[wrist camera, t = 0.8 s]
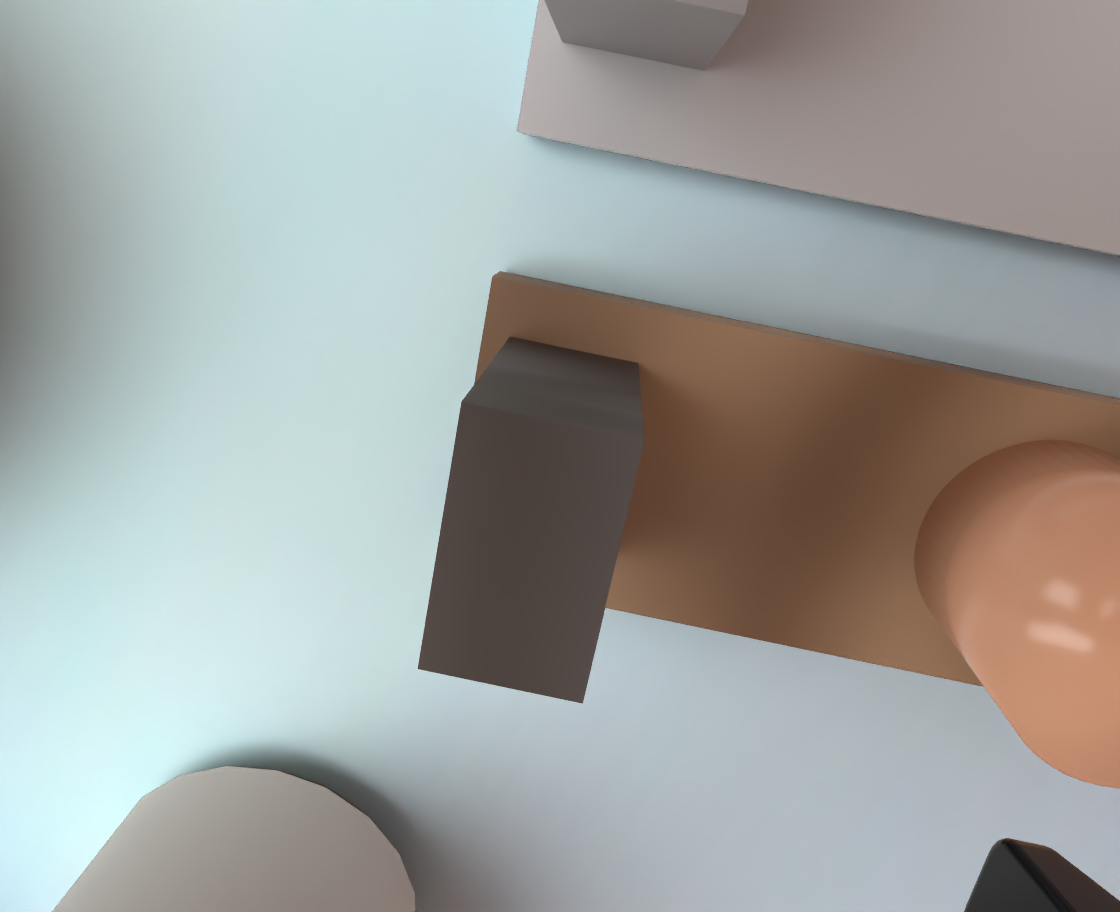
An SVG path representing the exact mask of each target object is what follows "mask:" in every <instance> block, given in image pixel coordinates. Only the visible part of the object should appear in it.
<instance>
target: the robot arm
mask: <svg viewBox="0 0 1120 912" xmlns="http://www.w3.org/2000/svg"><path fill="white" fill-rule="evenodd" d="M964 912H1120V901H1119V900H1118V899H1116V898H1115V897H1114V896H1112V895H1111V894H1110V893H1109V892H1107V891H1106V890H1105V889H1103V888H1102V887H1101V886H1100V885H1098V884H1097V883H1096V882H1094V881H1093V880H1092V879H1091V878H1089V877H1088V876H1087V875H1085V874H1084V873H1083V872H1082V871H1080V870H1079V869H1078V868H1076V867H1075V866H1074V865H1073V864H1071V863H1070V862H1069V861H1067V860H1066V859H1065V858H1064V857H1062V856H1061V855H1060V854H1059V853H1057V852H1056V851H1054V850H1053V849H1051V848H1049V847H1046V846H1043V845H1038V844H1033V843H1028V842H1024V841H1019V840H1014V839H1009V838H1005V839H1002V840H999V841H997V842H996V843H995V844H994V845H993V846H992V848H991V850H990V852H989V854H988V856H987V858H986V861H985V863H984V865H983V868H982V870H981V872H980V875H979V877H978V879H977V882H976V884H975V886H974V889H973V891H972V893H971V896H970V898H969V900H968V903H967V905H966V908H965V911H964Z"/></svg>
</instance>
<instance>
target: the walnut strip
mask: <svg viewBox="0 0 1120 912" xmlns="http://www.w3.org/2000/svg"><path fill="white" fill-rule="evenodd" d="M1040 440H1063V441H1071V442H1078V443H1081V444H1085V445H1088V446H1092V447H1095V448H1097V449H1099V450H1102V451H1104V452H1106V453H1108V454H1110V455H1112V456H1113V457H1115V458H1117V459H1119V460H1120V399H1118V398H1113V397H1108V396H1103V395H1099V394H1094V393H1089V392H1084V391H1079V390H1074V389H1069V388H1065V387H1060V386H1055V385H1050V384H1045V383H1040V382H1035V381H1031V380H1026V379H1021V378H1016V377H1011V376H1006V375H1001V374H997V373H992V372H987V371H982V370H977V369H972V368H967V367H963V366H958V365H953V364H948V363H943V362H938V361H933V360H929V359H924V358H919V357H914V356H909V355H904V354H899V353H895V352H890V351H885V350H880V349H875V348H870V347H865V346H861V345H856V344H851V343H846V342H841V341H836V340H831V339H827V338H822V337H817V336H812V335H807V334H802V333H797V332H793V331H788V330H783V329H778V328H773V327H768V326H763V325H759V324H754V323H749V322H744V321H739V320H734V319H729V318H725V317H720V316H715V315H710V314H705V313H700V312H696V311H691V310H686V309H681V308H676V307H671V306H666V305H662V304H657V303H652V302H647V301H642V300H637V299H632V298H628V297H623V296H618V295H613V294H608V293H603V292H598V291H594V290H589V289H584V288H579V287H574V286H569V285H564V284H560V283H555V282H550V281H545V280H540V279H535V278H530V277H526V276H521V275H516V274H511V273H506V272H501V271H500V272H498V273H497V274H495V275H494V276H493V277H492V282H491V288H490V294H489V300H488V306H487V312H486V318H485V324H484V330H483V335H482V341H481V347H480V353H479V359H478V365H477V371H476V377H475V383H474V386H473V387H472V389H471V390H470V391H469V393H468V394H467V395H466V397H465V398H464V399H463V401H462V402H461V408H460V415H459V421H458V427H457V433H456V439H455V445H454V451H453V457H452V463H451V469H450V476H449V482H448V488H447V494H446V500H445V506H444V512H443V518H442V524H441V530H440V536H439V543H438V549H437V555H436V561H435V567H434V573H433V579H432V585H431V591H430V597H429V604H428V610H427V616H426V622H425V628H424V634H423V640H422V646H421V652H420V658H419V664H418V669H421V670H426V671H430V672H435V673H440V674H445V675H449V676H454V677H459V678H464V679H469V680H473V681H478V682H483V683H488V684H492V685H497V686H502V687H507V688H512V689H516V690H521V691H526V692H531V693H535V694H540V695H545V696H550V697H554V698H559V699H564V700H569V701H574V702H578V703H583V700H584V695H585V691H586V687H587V683H588V678H589V674H590V670H591V666H592V661H593V657H594V653H595V649H596V644H597V640H598V636H599V632H600V628H601V623H602V619H603V615H604V611H605V608H609V609H614V610H619V611H624V612H628V613H633V614H638V615H643V616H648V617H652V618H657V619H662V620H667V621H672V622H676V623H681V624H686V625H691V626H696V627H700V628H705V629H710V630H715V631H720V632H724V633H729V634H734V635H739V636H743V637H748V638H753V639H758V640H763V641H767V642H772V643H777V644H782V645H787V646H791V647H796V648H801V649H806V650H811V651H815V652H820V653H825V654H830V655H835V656H839V657H844V658H849V659H854V660H858V661H863V662H868V663H873V664H878V665H882V666H887V667H892V668H897V669H902V670H906V671H911V672H916V673H921V674H926V675H930V676H935V677H940V678H945V679H950V680H954V681H959V682H964V683H969V684H974V685H978V686H983V685H982V683H981V682H980V680H979V679H978V677H977V676H976V675H975V673H974V672H973V670H972V669H971V668H970V666H969V665H968V663H967V662H966V661H965V659H964V658H963V656H962V655H961V654H960V652H959V651H958V649H957V648H956V647H955V645H954V644H953V642H952V641H951V640H950V638H949V637H948V635H947V634H946V633H945V631H944V630H943V628H942V627H941V626H940V624H939V623H938V621H937V620H936V619H935V617H934V616H933V614H932V613H931V612H930V610H929V609H928V607H927V606H926V604H925V602H924V600H923V598H922V596H921V594H920V591H919V588H918V585H917V581H916V575H915V569H914V553H915V546H916V540H917V536H918V533H919V529H920V526H921V524H922V521H923V519H924V517H925V514H926V513H927V511H928V509H929V508H930V506H931V504H932V503H933V501H934V500H935V498H936V497H937V496H938V494H939V493H940V492H941V491H942V489H943V488H944V487H945V486H946V485H947V484H948V483H949V482H950V481H951V480H952V479H953V478H954V477H955V476H956V475H958V474H959V473H960V472H961V471H963V470H964V469H965V468H966V467H968V466H969V465H971V464H973V463H974V462H976V461H977V460H979V459H981V458H982V457H985V456H987V455H989V454H991V453H993V452H995V451H997V450H1000V449H1003V448H1006V447H1009V446H1012V445H1016V444H1020V443H1025V442H1030V441H1040ZM983 687H984V686H983Z"/></svg>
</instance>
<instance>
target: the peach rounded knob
mask: <svg viewBox="0 0 1120 912" xmlns="http://www.w3.org/2000/svg"><path fill="white" fill-rule="evenodd" d="M914 569H915V575H916V581H917V585H918V588H919V591H920V594H921V596H922V598H923V600H924V602H925V604H926V606H927V607H928V609H929V610H930V612H931V613H932V614H933V616H934V617H935V619H936V620H937V621H938V623H939V624H940V626H941V627H942V628H943V630H944V631H945V633H946V634H947V635H948V637H949V638H950V640H951V641H952V642H953V644H954V645H955V647H956V648H957V649H958V651H959V652H960V654H961V655H962V656H963V658H964V659H965V661H966V662H967V663H968V665H969V666H970V668H971V669H972V670H973V672H974V673H975V675H976V676H977V677H978V679H979V680H980V682H981V683H982V685H983V686H984V687H985V689H986V690H987V692H988V693H989V694H990V696H991V697H992V699H993V700H994V701H995V703H996V704H997V706H998V707H999V708H1000V710H1001V711H1002V713H1003V714H1004V715H1005V717H1006V718H1007V720H1008V721H1009V722H1010V724H1011V725H1012V727H1013V728H1014V729H1015V731H1016V732H1017V734H1018V735H1019V736H1020V738H1021V739H1022V740H1023V742H1024V743H1025V744H1026V745H1027V746H1028V747H1029V748H1030V749H1031V750H1032V751H1033V752H1034V753H1035V754H1036V755H1037V756H1038V757H1039V758H1041V759H1042V760H1043V761H1045V762H1046V763H1047V764H1049V765H1050V766H1052V767H1054V768H1055V769H1057V770H1059V771H1061V772H1062V773H1064V774H1066V775H1069V776H1071V777H1074V778H1076V779H1079V780H1081V781H1085V782H1088V783H1092V784H1096V785H1099V786H1106V787H1113V788H1120V460H1119V459H1117V458H1115V457H1113V456H1112V455H1110V454H1108V453H1106V452H1104V451H1102V450H1099V449H1097V448H1095V447H1092V446H1088V445H1085V444H1081V443H1078V442H1071V441H1063V440H1040V441H1030V442H1025V443H1020V444H1016V445H1012V446H1009V447H1006V448H1003V449H1000V450H997V451H995V452H993V453H991V454H989V455H987V456H985V457H982V458H981V459H979V460H977V461H976V462H974V463H973V464H971V465H969V466H968V467H966V468H965V469H964V470H963V471H961V472H960V473H959V474H958V475H956V476H955V477H954V478H953V479H952V480H951V481H950V482H949V483H948V484H947V485H946V486H945V487H944V488H943V489H942V491H941V492H940V493H939V494H938V496H937V497H936V498H935V500H934V501H933V503H932V504H931V506H930V508H929V509H928V511H927V513H926V514H925V517H924V519H923V521H922V524H921V526H920V529H919V533H918V536H917V540H916V546H915V553H914Z"/></svg>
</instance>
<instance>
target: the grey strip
mask: <svg viewBox="0 0 1120 912" xmlns="http://www.w3.org/2000/svg"><path fill="white" fill-rule="evenodd" d="M517 131H518V132H520V133H522V134H525V135H530V136H535V137H540V138H545V139H550V140H554V141H559V142H564V143H569V144H574V145H579V146H584V147H589V148H594V149H598V150H603V151H608V152H613V153H618V154H623V155H628V156H633V157H638V158H642V159H647V160H652V161H657V162H662V163H667V164H672V165H677V166H681V167H686V168H691V169H696V170H701V171H706V172H711V173H716V174H721V175H725V176H730V177H735V178H740V179H745V180H750V181H755V182H760V183H765V184H769V185H774V186H779V187H784V188H789V189H794V190H799V191H804V192H809V193H813V194H818V195H823V196H828V197H833V198H838V199H843V200H848V201H852V202H857V203H862V204H867V205H872V206H877V207H882V208H887V209H892V210H896V211H901V212H906V213H911V214H916V215H921V216H926V217H931V218H936V219H940V220H945V221H950V222H955V223H960V224H965V225H970V226H975V227H980V228H984V229H989V230H994V231H999V232H1004V233H1009V234H1014V235H1019V236H1023V237H1028V238H1033V239H1038V240H1043V241H1048V242H1053V243H1058V244H1063V245H1067V246H1072V247H1077V248H1082V249H1087V250H1092V251H1097V252H1102V253H1107V254H1111V255H1116V256H1120V0H539V1H538V7H537V13H536V19H535V25H534V31H533V37H532V43H531V49H530V55H529V61H528V67H527V73H526V79H525V85H524V91H523V97H522V103H521V109H520V115H519V121H518V127H517Z"/></svg>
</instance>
